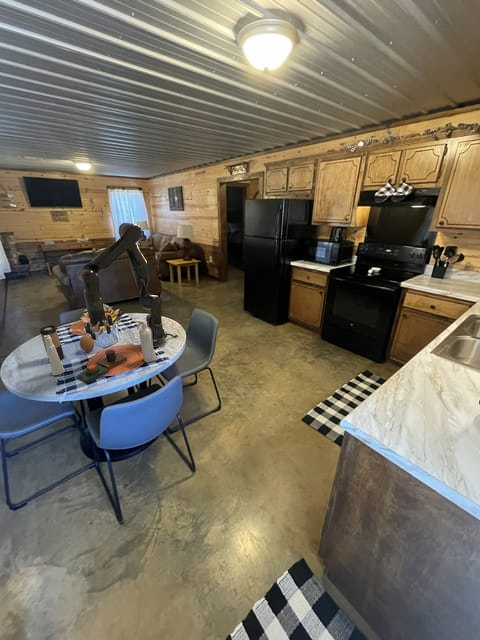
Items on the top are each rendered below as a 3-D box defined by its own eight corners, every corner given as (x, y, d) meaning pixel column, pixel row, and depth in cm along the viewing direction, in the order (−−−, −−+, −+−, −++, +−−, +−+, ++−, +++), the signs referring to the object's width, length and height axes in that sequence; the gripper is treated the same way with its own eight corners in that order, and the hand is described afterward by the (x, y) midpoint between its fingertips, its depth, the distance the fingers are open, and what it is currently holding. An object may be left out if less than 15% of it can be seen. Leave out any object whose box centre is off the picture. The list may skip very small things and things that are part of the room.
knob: (112, 356, 152) (110, 348, 150) (118, 358, 150) (116, 350, 148) (104, 360, 148) (102, 351, 146) (110, 362, 146) (108, 354, 144)
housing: (98, 367, 145) (96, 361, 144) (108, 372, 141) (106, 366, 140) (78, 377, 137) (76, 371, 135) (88, 383, 132) (87, 376, 131)
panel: (115, 356, 157) (115, 352, 156) (127, 360, 152) (126, 356, 151) (97, 365, 147) (96, 361, 146) (108, 370, 143) (107, 366, 142)
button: (93, 366, 140) (92, 363, 139) (97, 368, 138) (96, 365, 137) (86, 370, 137) (86, 367, 136) (91, 372, 135) (90, 369, 135)
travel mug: (67, 357, 156) (58, 326, 148) (55, 363, 149) (45, 331, 142) (58, 354, 158) (49, 324, 151) (46, 361, 152) (35, 330, 144)
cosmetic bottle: (53, 370, 143) (41, 334, 134) (65, 368, 145) (54, 332, 136) (50, 376, 138) (38, 339, 129) (64, 373, 140) (52, 337, 131)
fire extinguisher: (153, 365, 148) (147, 324, 138) (138, 359, 153) (131, 320, 143) (162, 359, 153) (156, 320, 143) (147, 354, 159) (141, 316, 149)
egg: (79, 352, 161) (74, 336, 157) (90, 347, 167) (86, 331, 163) (87, 355, 158) (83, 339, 154) (98, 349, 164) (94, 334, 160)
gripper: (86, 313, 126) (94, 343, 132) (112, 305, 138) (118, 332, 144) (77, 311, 129) (85, 340, 136) (102, 302, 141) (108, 330, 147)
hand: (102, 336), depth 140 cm, fingers open, 8 cm apart
